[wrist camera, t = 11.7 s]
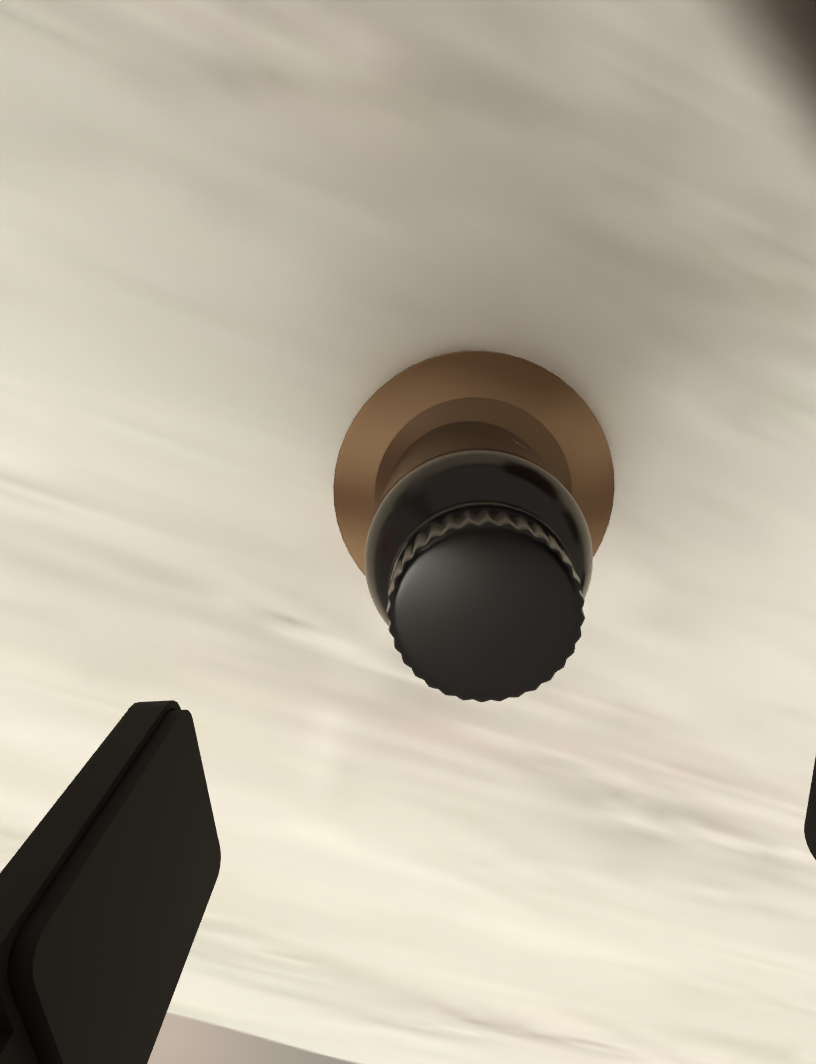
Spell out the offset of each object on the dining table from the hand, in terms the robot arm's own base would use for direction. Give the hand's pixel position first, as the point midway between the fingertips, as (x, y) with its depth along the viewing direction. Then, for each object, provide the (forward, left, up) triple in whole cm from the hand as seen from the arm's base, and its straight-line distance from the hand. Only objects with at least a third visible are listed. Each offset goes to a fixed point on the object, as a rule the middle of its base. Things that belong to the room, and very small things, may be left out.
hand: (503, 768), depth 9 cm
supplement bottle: (0, 0, -18) cm, 18 cm away
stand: (0, 0, -20) cm, 20 cm away
